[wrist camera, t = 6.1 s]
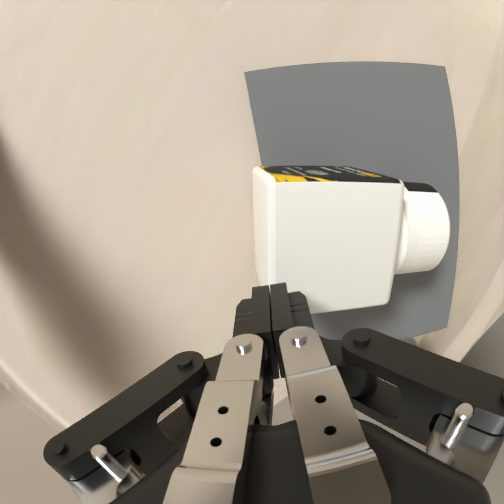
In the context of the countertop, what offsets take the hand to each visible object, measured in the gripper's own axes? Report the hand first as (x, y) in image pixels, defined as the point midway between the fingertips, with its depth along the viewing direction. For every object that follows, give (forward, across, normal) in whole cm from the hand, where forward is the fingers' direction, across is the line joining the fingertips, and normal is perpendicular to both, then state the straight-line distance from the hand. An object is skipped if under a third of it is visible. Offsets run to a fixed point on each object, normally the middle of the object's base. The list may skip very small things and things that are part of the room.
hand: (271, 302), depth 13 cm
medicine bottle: (+5, 0, -2) cm, 5 cm away
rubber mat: (+10, -8, 0) cm, 13 cm away
